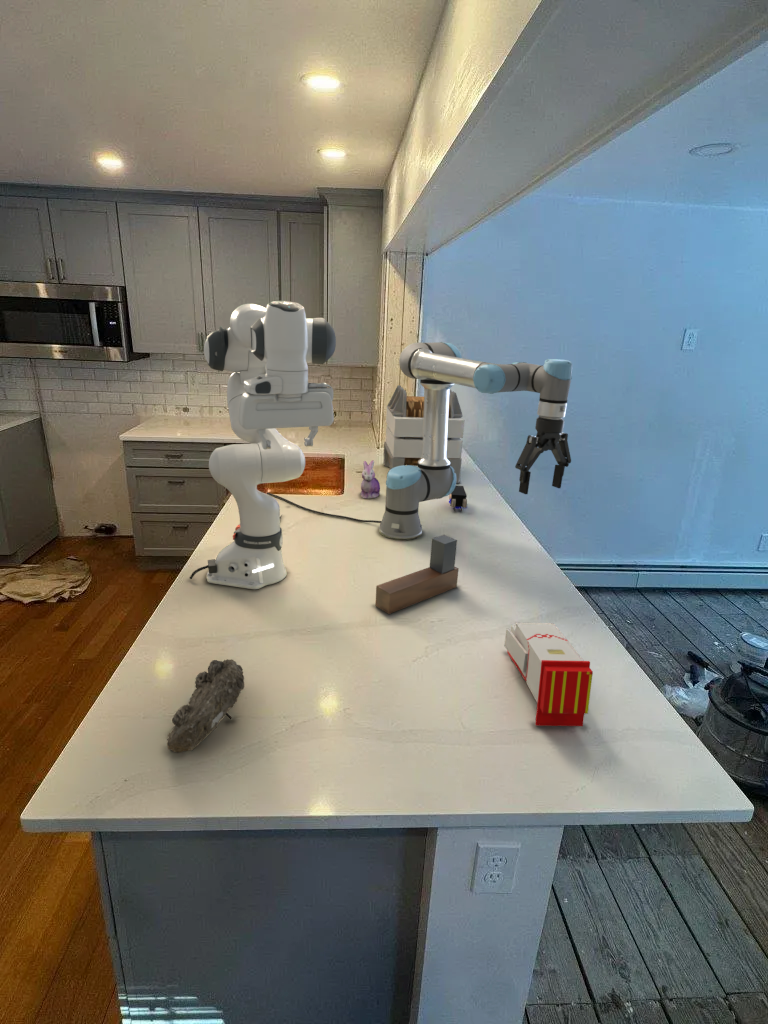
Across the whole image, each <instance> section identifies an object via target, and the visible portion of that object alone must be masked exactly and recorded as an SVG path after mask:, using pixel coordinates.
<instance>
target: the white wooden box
mask: <svg viewBox="0 0 768 1024" xmlns="http://www.w3.org/2000/svg"><path fill="white" fill-rule="evenodd" d="M407 394H408V393H407V390H406V389H404V388H403V387H402V385H399V384H398V385H397V386H396V388H395V390H394V392H393V394H392V395H391V398H390V400H389V402H388V404H387V405H386V413H385V414H386V415H385V423H386V428H385V438H384V442H383V466H384V467H388V468H389V471H390V470H391V469H392V468H394V467H397V466H402V465H405V466H407V465H413V466H417V467H418V461H419V460H420V459H421V458H422V447H423V418H424V396H415V395H414V396H413V395H412V396H411V395H407ZM464 429H465V419H464V418H463V411H462V408H461V405H460V402H459V398H458V395H457V392H455V391H453V390H452V389H450V390H449V411H448V433H447V454H446V458H447V459H448V460H449V461H450V466H451V467H452V468H453V469H454V473H456V484H459V483H461V472H462V461H463V460H462V453H463V442H464V441H463V440H462V439H463V438H464V431H465V430H464Z"/></svg>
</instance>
